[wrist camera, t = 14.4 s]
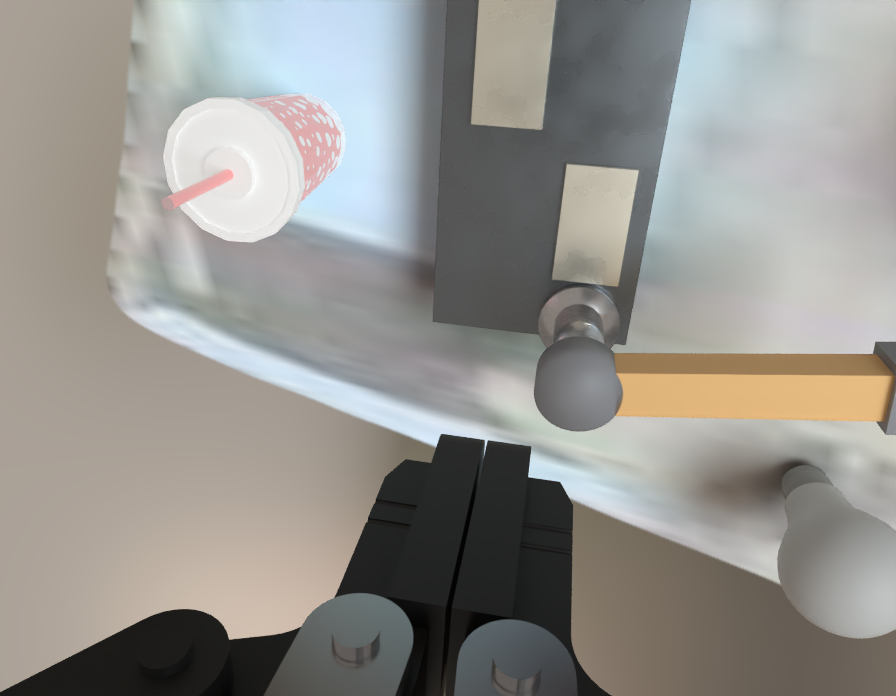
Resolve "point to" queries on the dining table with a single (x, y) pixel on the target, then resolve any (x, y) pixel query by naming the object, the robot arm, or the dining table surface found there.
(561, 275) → the grey rectangular block
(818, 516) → the lightbulb
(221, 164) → the beverage cup
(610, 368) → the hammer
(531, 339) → the dining table surface
